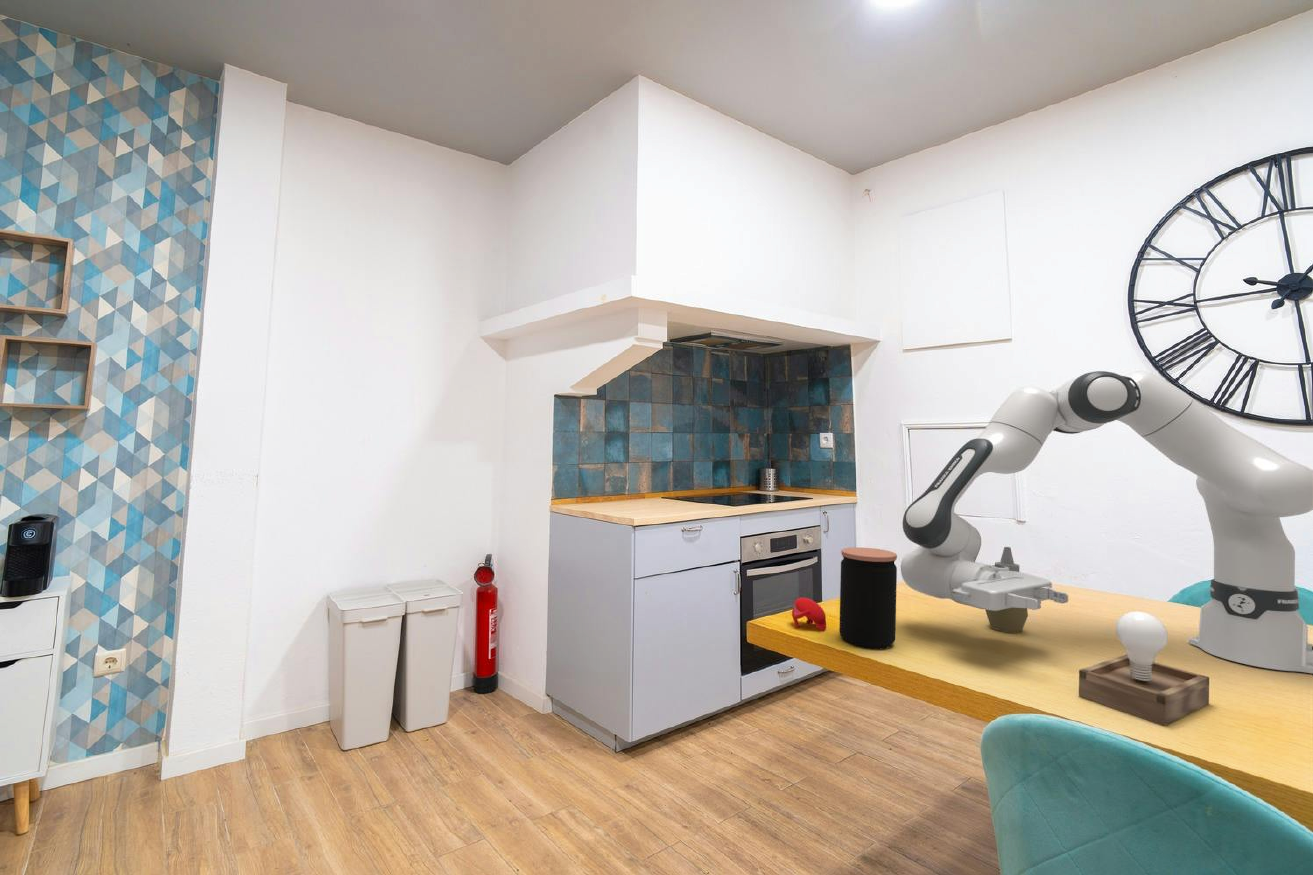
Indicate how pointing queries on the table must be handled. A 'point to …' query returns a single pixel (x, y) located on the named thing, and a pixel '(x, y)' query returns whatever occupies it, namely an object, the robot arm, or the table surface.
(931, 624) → the table surface
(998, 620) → the squeeze bottle
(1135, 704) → the walnut tray
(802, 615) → the red animal figurine
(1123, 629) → the lightbulb
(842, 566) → the coffee jar
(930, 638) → the table surface
